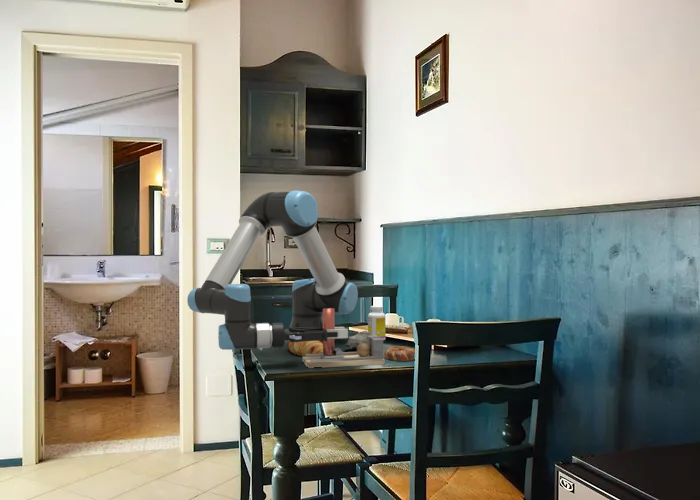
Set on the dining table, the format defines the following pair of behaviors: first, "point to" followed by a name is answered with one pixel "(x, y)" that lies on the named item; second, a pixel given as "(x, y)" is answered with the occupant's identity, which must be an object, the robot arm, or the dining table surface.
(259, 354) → the dining table surface
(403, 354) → the pretzel
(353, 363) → the base
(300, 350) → the croissant
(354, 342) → the rock
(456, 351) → the dining table surface
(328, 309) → the handle
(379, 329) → the supplement bottle
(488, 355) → the dining table surface
